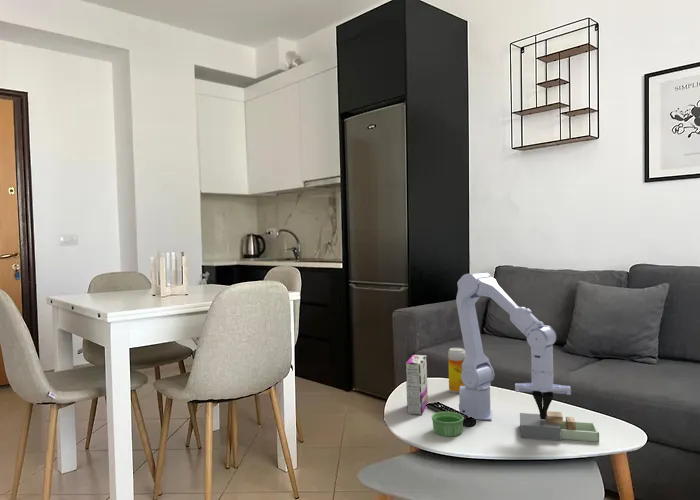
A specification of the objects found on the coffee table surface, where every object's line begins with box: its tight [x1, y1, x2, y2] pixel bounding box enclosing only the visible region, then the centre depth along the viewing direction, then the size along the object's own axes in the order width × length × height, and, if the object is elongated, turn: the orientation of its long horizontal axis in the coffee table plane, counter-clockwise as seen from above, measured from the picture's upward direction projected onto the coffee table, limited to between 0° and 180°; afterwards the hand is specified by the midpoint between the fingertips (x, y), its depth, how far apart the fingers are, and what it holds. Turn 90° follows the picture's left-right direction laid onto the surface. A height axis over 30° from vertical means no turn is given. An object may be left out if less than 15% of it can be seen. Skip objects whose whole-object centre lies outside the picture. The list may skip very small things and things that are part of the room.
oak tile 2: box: [565, 416, 577, 430], centre depth 146 cm, size 4×4×2 cm
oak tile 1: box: [546, 410, 564, 424], centre depth 147 cm, size 4×4×2 cm
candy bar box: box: [405, 354, 429, 416], centre depth 170 cm, size 11×5×16 cm, turn 162°
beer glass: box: [447, 347, 466, 394], centre depth 188 cm, size 6×6×15 cm
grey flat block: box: [519, 412, 562, 441], centre depth 148 cm, size 10×10×4 cm
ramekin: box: [431, 411, 465, 438], centre depth 150 cm, size 9×9×4 cm
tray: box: [559, 420, 600, 443], centre depth 145 cm, size 10×8×2 cm
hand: (542, 418), depth 148 cm, fingers closed
